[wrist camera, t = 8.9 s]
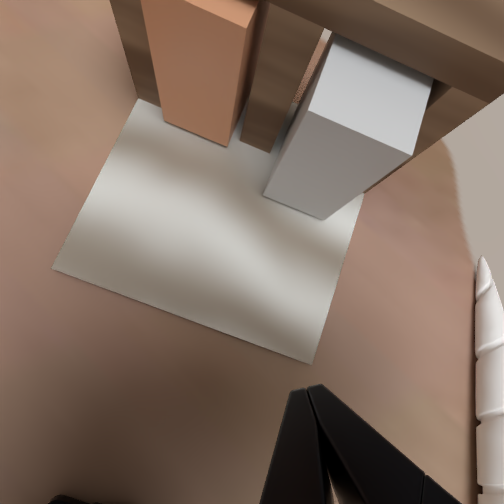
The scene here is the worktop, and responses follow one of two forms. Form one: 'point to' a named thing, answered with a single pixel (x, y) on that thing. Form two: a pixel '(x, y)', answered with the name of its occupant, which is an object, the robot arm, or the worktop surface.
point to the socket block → (261, 172)
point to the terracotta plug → (205, 60)
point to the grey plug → (348, 128)
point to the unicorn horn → (489, 387)
